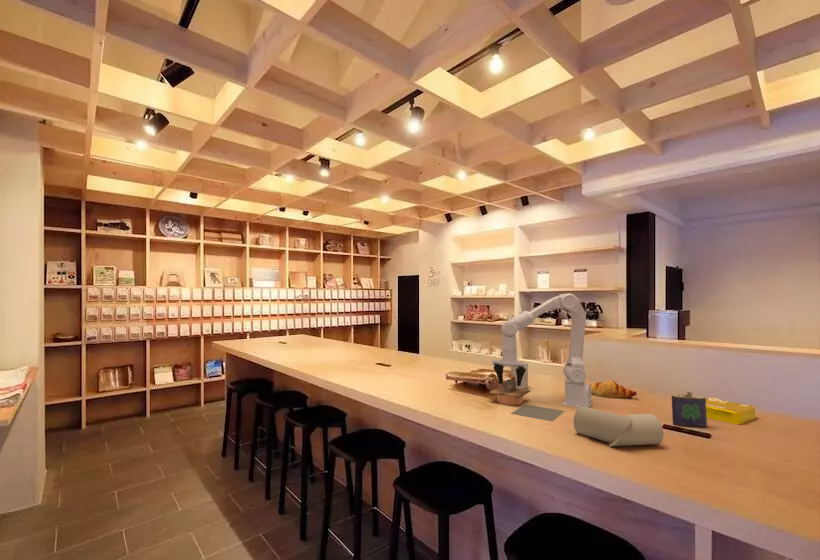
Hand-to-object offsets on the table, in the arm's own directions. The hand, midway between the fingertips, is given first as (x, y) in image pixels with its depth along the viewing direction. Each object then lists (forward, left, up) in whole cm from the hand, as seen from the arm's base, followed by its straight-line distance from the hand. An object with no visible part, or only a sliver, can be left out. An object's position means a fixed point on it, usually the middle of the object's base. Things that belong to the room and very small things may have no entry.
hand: (509, 384), depth 157 cm
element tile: (-68, -28, -8) cm, 74 cm away
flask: (-59, -8, -8) cm, 60 cm away
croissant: (-30, -37, -8) cm, 48 cm away
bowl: (0, 0, -7) cm, 7 cm away
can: (+6, -26, -7) cm, 28 cm away
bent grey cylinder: (-41, +21, -8) cm, 47 cm away
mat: (-14, +8, -7) cm, 18 cm away
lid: (0, 0, -3) cm, 3 cm away
